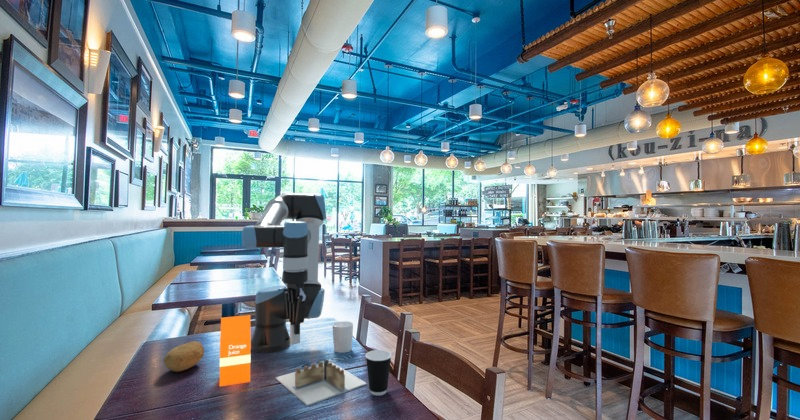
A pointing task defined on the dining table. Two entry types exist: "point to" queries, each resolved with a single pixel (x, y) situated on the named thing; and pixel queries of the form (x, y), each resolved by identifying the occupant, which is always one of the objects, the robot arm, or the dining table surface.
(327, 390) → the card
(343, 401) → the dining table surface
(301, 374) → the beige crenellated panel
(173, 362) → the potato
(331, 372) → the fixed fence panel
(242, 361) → the orange juice
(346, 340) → the white cup
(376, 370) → the dixie cup
